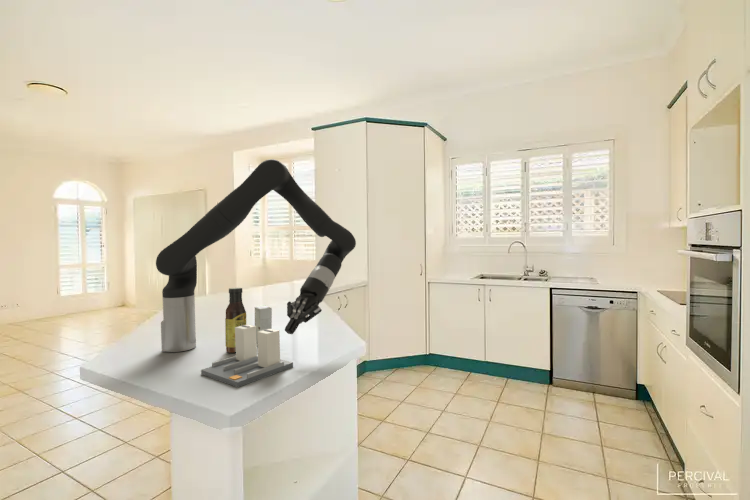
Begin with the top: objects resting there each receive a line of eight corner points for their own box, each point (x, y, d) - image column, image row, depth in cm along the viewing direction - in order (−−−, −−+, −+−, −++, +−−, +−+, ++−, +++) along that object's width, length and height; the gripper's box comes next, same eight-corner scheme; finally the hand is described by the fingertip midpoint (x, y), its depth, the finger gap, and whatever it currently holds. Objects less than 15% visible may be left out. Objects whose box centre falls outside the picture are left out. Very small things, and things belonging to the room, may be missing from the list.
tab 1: (248, 355, 106) (247, 323, 106) (256, 358, 104) (256, 325, 104) (235, 359, 103) (234, 326, 103) (244, 361, 101) (243, 328, 100)
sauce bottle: (239, 354, 113) (237, 289, 113) (221, 353, 114) (219, 289, 114) (251, 348, 119) (249, 286, 119) (233, 347, 121) (231, 286, 120)
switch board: (256, 357, 110) (256, 349, 110) (293, 366, 100) (292, 358, 100) (201, 374, 96) (200, 365, 96) (237, 387, 87) (237, 378, 87)
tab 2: (270, 361, 100) (269, 328, 100) (280, 364, 98) (279, 329, 98) (258, 365, 97) (257, 331, 97) (267, 368, 95) (266, 332, 95)
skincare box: (254, 341, 128) (253, 306, 128) (266, 339, 131) (265, 305, 130) (259, 345, 123) (258, 308, 123) (273, 342, 126) (272, 307, 125)
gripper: (296, 275, 114) (264, 322, 104) (327, 276, 106) (297, 327, 97) (309, 290, 119) (280, 336, 109) (340, 292, 111) (312, 343, 101)
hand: (288, 332), depth 103 cm, fingers closed
